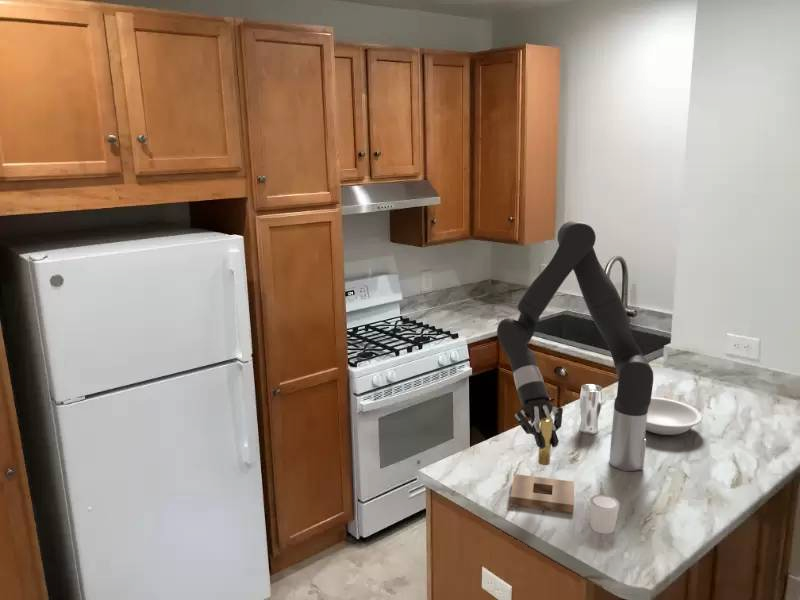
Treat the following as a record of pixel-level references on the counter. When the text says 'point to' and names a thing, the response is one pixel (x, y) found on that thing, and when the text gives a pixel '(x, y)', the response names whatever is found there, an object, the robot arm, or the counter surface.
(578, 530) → the counter surface
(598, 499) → the shot glass
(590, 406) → the beer glass
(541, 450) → the peg
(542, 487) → the block
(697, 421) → the soup bowl
